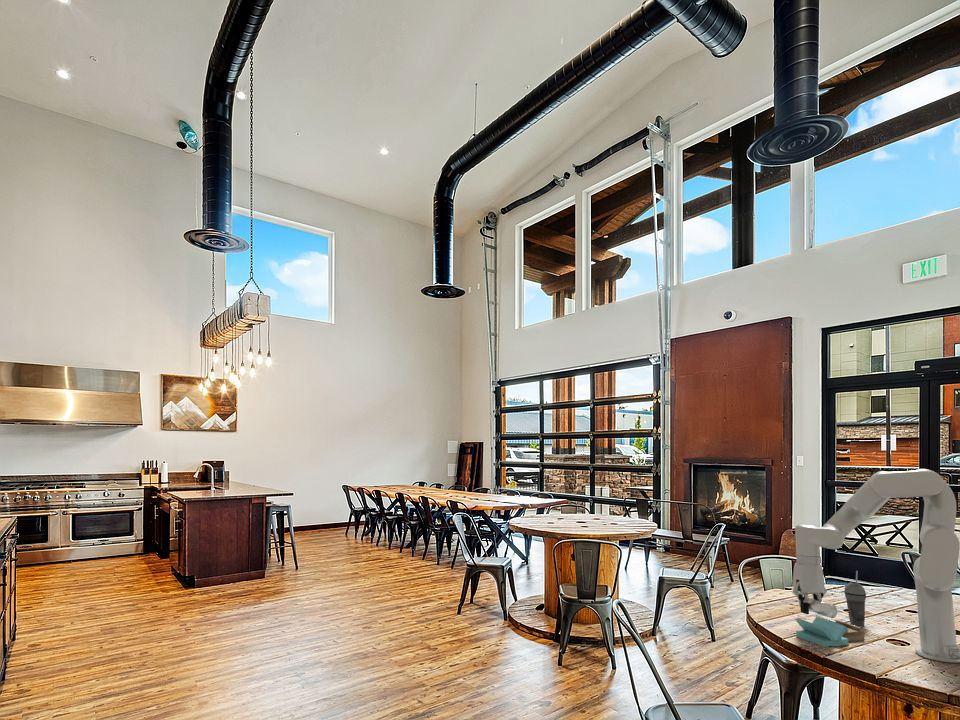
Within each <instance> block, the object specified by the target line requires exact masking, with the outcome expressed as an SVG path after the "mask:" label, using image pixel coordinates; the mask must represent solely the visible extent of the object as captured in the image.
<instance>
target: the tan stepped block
mask: <svg viewBox="0 0 960 720" xmlns="http://www.w3.org/2000/svg"><path fill="white" fill-rule="evenodd" d="M834 623H837V624H840V625H843V626H845V627H846V628H847V630H846V631H845V633H844V634H843V636H842V637H844V638H847V639H848V643H850V642H858V641H857V640H860V641H865V631H864V630H863V629H862V628H863V627H860V626H854V625H851V624H850V623H848V622H846V621H841V620H839V619H835V622H834Z"/></svg>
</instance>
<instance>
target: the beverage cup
mask: <svg viewBox="0 0 960 720" xmlns="http://www.w3.org/2000/svg"><path fill="white" fill-rule="evenodd" d="M858 572H859V571H858V570H856V571H855V581H851V582H848V583H847V584H846V585H845V587H844V591H843V594H844V597H845V599H846V604H847V605H846V606H847V612H848V618H849V624H851V625H855V626H857V627H860V626H863V627H865V618H866V617H865V616H866V615H865V614H866V599H867V598H866V597H867V594H866V590H865V588H864V586H862V584H860V583H859V582H858V577H859V576H858V575H859V573H858Z"/></svg>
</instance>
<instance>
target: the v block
mask: <svg viewBox="0 0 960 720" xmlns="http://www.w3.org/2000/svg"><path fill="white" fill-rule="evenodd" d="M795 622H796V623H797V624H798V625H799V626H800V627H801V628H802V629H799V630H795V636H796V637H797V638H799V639H801V638H802V640H804V641H806V640H807V641H806V642H809V641H810V642H809V643H811V642H813V643H812V644H814V643H816V644H818V645H817V646H819V645H821V646H823V647H822V648H824V647H826V648H830V647H829V646H836V647H844V646H843V645H846V646H849V643H850V642H848V639H847V638H844V637H842V636H843V634H844V633H845V631H846V630H847V628H846V627H845V626H843V625H840V624H837V623H836V622H834V621H832V620H828V619H824V618H822V617H820V616H816V617H815V618H814V620H813V621H812V622H810V621H807V620H806V619H805V620H804V619H802V618H799V617H797V618H796V619H795ZM816 644H815V645H816ZM841 645H842V646H841ZM821 646H820V647H821Z"/></svg>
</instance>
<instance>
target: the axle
mask: <svg viewBox="0 0 960 720" xmlns="http://www.w3.org/2000/svg"><path fill="white" fill-rule="evenodd" d="M807 603H809V613H810V612H811V613H814V614H818V615H821V616H824V617H827V618H831V619H835V618H836V617H837V615H838V609H837V606H836V605H834V604H832V603H829V602H824V601H818V600H814V599H813V598H811V597H808V598H807ZM798 605H799V607H800V601H799V600H798Z"/></svg>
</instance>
